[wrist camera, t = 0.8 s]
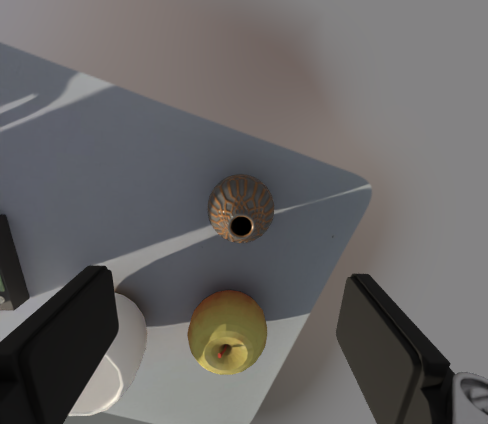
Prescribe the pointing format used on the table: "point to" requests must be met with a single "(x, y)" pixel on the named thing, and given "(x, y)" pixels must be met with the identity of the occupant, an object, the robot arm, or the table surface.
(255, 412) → the table surface
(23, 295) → the scale
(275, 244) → the table surface
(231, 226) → the vase
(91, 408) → the cup
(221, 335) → the apple
